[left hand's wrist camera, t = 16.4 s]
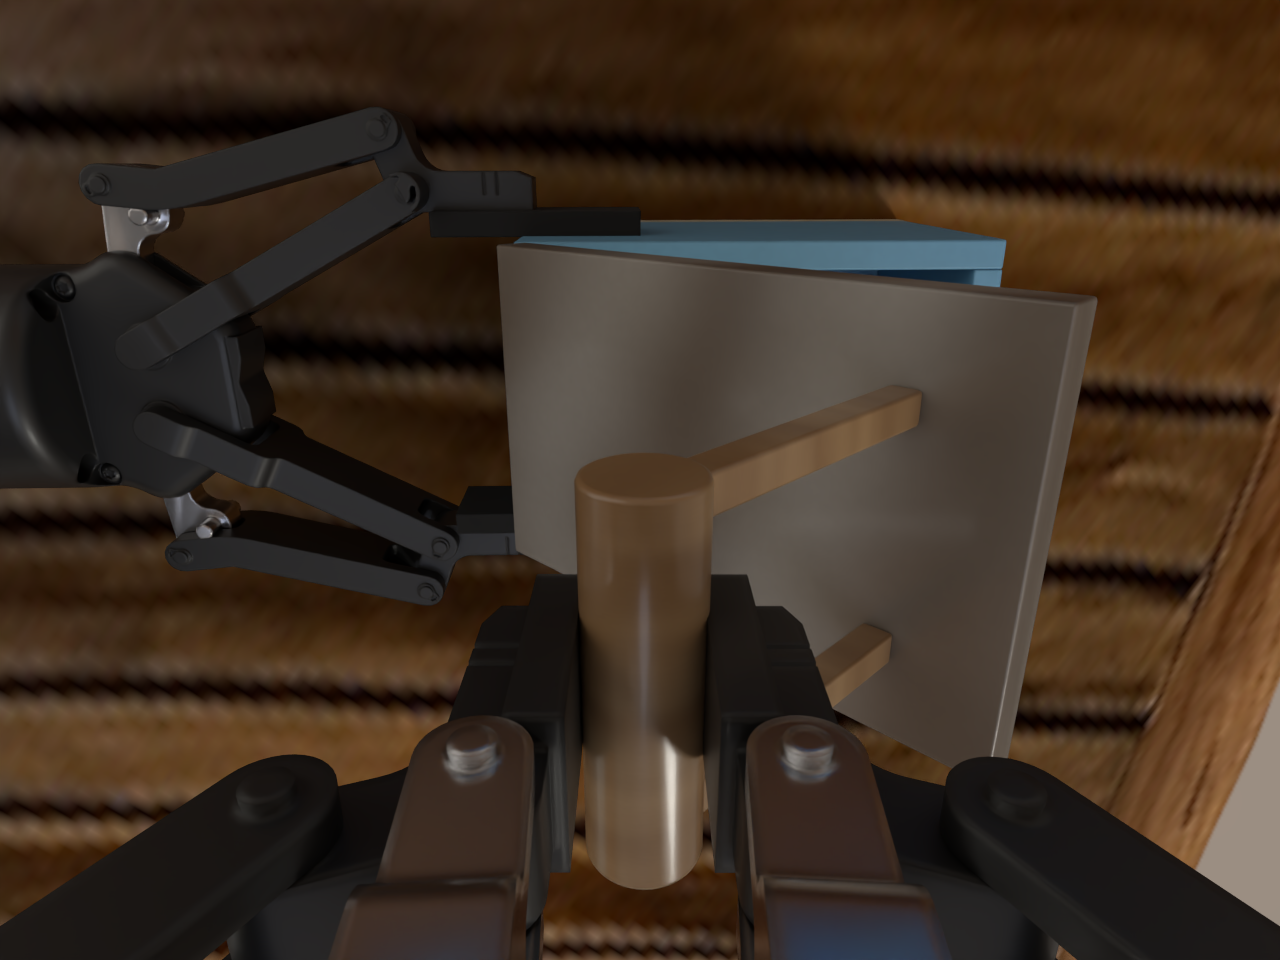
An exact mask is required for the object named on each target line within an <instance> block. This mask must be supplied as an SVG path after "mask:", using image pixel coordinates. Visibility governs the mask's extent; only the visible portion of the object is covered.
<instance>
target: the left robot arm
mask: <svg viewBox="0 0 1280 960" xmlns="http://www.w3.org/2000/svg"><path fill="white" fill-rule="evenodd" d="M582 745H583V731H582V701H581V671H580V641H579V610H578V580H577V574H537V576H536V580H535V584H534V587H533V591H532V595H531V599H530V603H529V606H501V607H500V608H499V609H498V610H497V611H496V612H494V613H493V614H492V615H491V616H490V617H489V618H488V619H487V620H486V621H484V622H483V623H482V625H481V628H480V631H479V634H478V637H477V640H476V642H475V649H473V651H472V654H471V657H470V660H469V666H467V668H466V671H465V674H464V677H463V680H462V683H461V686H460V689H459V692H458V694H457V697H456V700H455V703H454V706H453V709H452V712H451V715H450V718H449V721H448V722H447V723H445V724H443V725H441V726H439V727H437V728H435V729H434V730H432V731H431V732H430V733H428V734H427V735H426V736H425V737H424V738H423V739H422V740H421V741H420V742H419V743H418V745H417V746H416V747H415V749H414V751H413V754H412V756H411V760H410V763H409V766H408V767H406V768H404V769H402V770H399V771H397V772H394V773H391V774H388V775H385V776H381V777H377V778H373V779H369V780H364V781H360V782H356V783H351V784H347V785H342V786H338V784H337V778H336V774H335V772H334V770H333V769H332V768H331V767H330V766H329V765H328V764H327V763H326V762H324V761H322V760H320V759H318V758H315V757H311V756H306V755H295V754H294V755H281V756H275V757H270V758H266V759H262V760H259V761H256V762H254V763H251V764H248V765H246V766H244V767H242V768H240V769H238V770H236V771H234V772H233V773H231V774H229V775H228V776H226V777H225V778H223V779H222V780H220V781H219V782H217V783H216V784H214V785H213V786H211V787H209V788H208V789H206V790H205V791H203V792H202V793H200V794H199V795H197V796H196V797H194V798H193V799H191V800H190V801H188V802H187V803H185V804H184V805H182V806H181V807H179V808H178V809H176V810H175V811H173V812H172V813H170V814H169V815H167V816H166V817H164V818H163V819H161V820H160V821H158V822H157V823H155V824H154V825H152V826H151V827H149V828H148V829H146V830H145V831H143V832H142V833H140V834H139V835H137V836H136V837H134V838H133V839H131V840H130V841H128V842H127V843H125V844H124V845H122V846H121V847H119V848H118V849H116V850H115V851H113V852H112V853H110V854H108V855H107V856H105V857H104V858H102V859H101V860H99V861H98V862H96V863H95V864H93V865H92V866H90V867H89V868H87V869H86V870H84V871H83V872H81V873H80V874H78V875H77V876H75V877H74V878H72V879H71V880H69V881H68V882H66V883H65V884H63V885H62V886H60V887H59V888H57V889H56V890H54V891H53V892H51V893H50V894H48V895H47V896H45V897H44V898H42V899H41V900H39V901H38V902H36V903H35V904H33V905H32V906H30V907H29V908H27V909H26V910H24V911H23V912H21V913H20V914H18V915H17V916H15V917H14V918H12V919H11V920H9V921H8V922H6V923H4V924H3V925H1V926H0V960H203V959H204V958H205V957H207V956H208V955H209V954H210V953H211V952H213V951H214V950H215V949H216V948H217V947H219V946H220V945H221V944H222V943H223V942H224V941H226V940H227V943H228V947H229V951H230V953H229V954H228V955H227V956H226V957H225V958H224V959H222V960H542V954H543V933H544V923H543V908H544V906H545V903H546V899H547V893H548V885H549V878H550V872H570V868H571V858H572V848H573V837H574V827H575V817H576V807H577V796H578V786H579V776H580V766H581V756H582ZM703 762H704V771H705V781H706V790H707V800H708V809H709V819H710V828H711V838H712V847H713V857H714V866H715V873H735V874H736V881H737V889H738V907H737V925H736V931H737V952H738V960H1058V959H1056V954H1057V950H1058V946H1059V945H1060V946H1062V947H1063V948H1064V949H1065V950H1066V951H1067V952H1069V953H1070V954H1071V955H1072V956H1073V957H1075V958H1076V959H1077V960H1280V926H1279V925H1277V924H1275V923H1274V922H1272V921H1271V920H1269V919H1268V918H1266V917H1265V916H1263V915H1262V914H1260V913H1259V912H1257V911H1256V910H1254V909H1253V908H1251V907H1250V906H1248V905H1247V904H1245V903H1244V902H1242V901H1241V900H1239V899H1238V898H1236V897H1235V896H1233V895H1232V894H1230V893H1229V892H1227V891H1226V890H1224V889H1223V888H1221V887H1220V886H1218V885H1217V884H1215V883H1214V882H1212V881H1211V880H1209V879H1208V878H1206V877H1205V876H1203V875H1202V874H1200V873H1199V872H1197V871H1196V870H1194V869H1193V868H1191V867H1190V866H1188V865H1187V864H1185V863H1184V862H1182V861H1181V860H1179V859H1178V858H1176V857H1175V856H1173V855H1172V854H1170V853H1169V852H1167V851H1165V850H1164V849H1162V848H1161V847H1159V846H1158V845H1156V844H1155V843H1153V842H1152V841H1150V840H1149V839H1147V838H1146V837H1144V836H1143V835H1141V834H1140V833H1138V832H1137V831H1135V830H1134V829H1132V828H1131V827H1129V826H1128V825H1126V824H1125V823H1123V822H1122V821H1120V820H1119V819H1117V818H1116V817H1114V816H1113V815H1111V814H1110V813H1108V812H1107V811H1105V810H1104V809H1102V808H1101V807H1099V806H1098V805H1096V804H1095V803H1093V802H1092V801H1090V800H1089V799H1087V798H1086V797H1084V796H1083V795H1081V794H1080V793H1078V792H1077V791H1075V790H1074V789H1072V788H1071V787H1069V786H1068V785H1066V784H1064V783H1063V782H1061V781H1060V780H1058V779H1057V778H1055V777H1054V776H1052V775H1050V774H1049V773H1047V772H1045V771H1043V770H1041V769H1039V768H1037V767H1035V766H1032V765H1029V764H1027V763H1024V762H1021V761H1017V760H1013V759H1008V758H1002V757H990V756H987V757H976V758H971V759H968V760H965V761H962V762H960V763H959V764H957V765H956V766H954V767H953V768H952V770H951V771H950V772H949V774H948V776H947V779H946V785H945V786H942V785H938V784H934V783H929V782H925V781H921V780H916V779H912V778H908V777H904V776H900V775H897V774H894V773H891V772H889V771H886V770H883V769H881V768H879V767H877V766H875V765H873V764H872V763H870V759H869V756H868V754H867V751H866V749H865V747H864V746H863V744H862V743H861V742H860V741H859V740H858V739H857V737H856V736H854V735H853V734H852V733H851V732H849V731H848V730H846V729H845V728H843V727H841V726H839V725H838V722H837V720H836V717H835V714H834V711H833V708H832V705H831V703H830V700H829V697H828V694H827V691H826V689H825V686H824V683H823V680H822V677H821V675H820V672H819V669H818V666H816V660H815V658H814V655H813V652H812V649H810V644H809V641H808V638H807V635H806V632H805V629H804V627H803V624H802V623H801V622H800V621H799V620H798V619H796V618H795V617H794V616H793V615H792V614H791V613H790V612H789V611H787V610H786V609H785V608H784V607H783V606H756V605H755V601H754V598H753V594H752V590H751V586H750V582H749V578H748V576H747V574H711V597H710V613H709V616H708V618H707V642H706V672H705V702H704V732H703Z"/></svg>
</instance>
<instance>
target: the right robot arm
mask: <svg viewBox="0 0 1280 960" xmlns="http://www.w3.org/2000/svg"><path fill="white" fill-rule="evenodd" d="M371 160H375V162H376V164H377V166H378V168H379V171H380V173H381V175H382V177H383V180H384V181H382V182H380V183H379V184H377V185H375V186H374V187H372V188H370V189H369V190H367V191H365V192H364V193H362V194H361V195H359V196H357V197H356V198H354V199H352V200H351V201H349V202H347V203H346V204H344V205H342V206H341V207H339V208H337V209H336V210H334V211H332V212H331V213H329V214H327V215H326V216H324V217H322V218H321V219H319V220H317V221H316V222H314V223H312V224H311V225H309V226H307V227H306V228H304V229H302V230H301V231H299V232H297V233H296V234H294V235H292V236H291V237H289V238H288V239H286V240H284V241H283V242H281V243H279V244H278V245H276V246H274V247H273V248H271V249H269V250H268V251H266V252H264V253H263V254H261V255H259V256H258V257H256V258H254V259H253V260H251V261H249V262H248V263H246V264H244V265H243V266H241V267H239V268H238V269H236V270H234V271H233V272H231V273H229V274H227V275H225V276H222V277H220V278H218V279H216V280H214V281H213V282H211V283H209V284H205V283H204V282H202V281H201V280H199V279H197V278H196V277H194V276H193V275H191V274H190V273H188V272H186V271H185V270H183V269H182V268H180V267H179V266H177V265H175V264H174V263H172V262H171V261H169V260H168V259H166V258H164V257H163V256H161V255H160V254H158V253H156V252H154V243H155V241H156V239H157V238H158V237H159V236H160V235H161V234H163V233H167V232H172V231H175V230H177V229H179V227H180V226H181V225H182V222H183V218H184V214H185V212H184V209H183V208H188V207H198V206H208V205H213V204H218V203H223V202H226V201H230V200H233V199H237V198H240V197H244V196H247V195H251V194H254V193H258V192H262V191H265V190H269V189H272V188H276V187H279V186H283V185H286V184H290V183H293V182H297V181H301V180H304V179H308V178H311V177H315V176H318V175H322V174H325V173H329V172H332V171H336V170H339V169H343V168H347V167H350V166H354V165H357V164H361V163H364V162H368V161H371ZM79 185H80V188H81V191H82V192H83V194H84V195H85V196H86V198H87V199H89V200H90V201H92V202H93V203H95V204H98V205H102V213H103V220H104V228H105V235H106V243H107V251H108V252H106V253H103V254H101V255H99V256H98V257H97V258H95V259H94V260H92V261H91V262H89V263H86V264H3V265H0V488H76V487H102V486H115V485H125V486H130V487H134V488H138V489H140V490H143V491H145V492H147V493H149V494H152V495H154V496H157V497H162V498H164V501H165V504H166V507H167V510H168V513H169V516H170V519H171V522H172V525H173V528H174V531H175V534H176V539H175V540H174V541H173V542H172V543H170V544H169V545H168V546H167V548H166V550H165V557H166V559H167V561H168V563H169V564H170V565H171V566H172V567H173V568H175V569H178V570H180V571H194V570H204V569H213V568H223V567H233V566H234V567H239V568H243V569H248V570H253V571H258V572H263V573H268V574H273V575H278V576H283V577H288V578H293V579H298V580H303V581H307V582H312V583H317V584H322V585H327V586H332V587H337V588H342V589H347V590H352V591H357V592H362V593H366V594H371V595H376V596H381V597H386V598H391V599H396V600H401V601H406V602H411V603H416V604H421V605H434V604H437V603H438V602H439V601H440V600H441V599H442V596H443V594H444V592H445V589H446V587H447V585H448V582H449V580H450V577H451V575H452V572H453V569H454V567H455V563H456V561H457V560H459V559H460V558H462V557H465V556H470V555H507V554H509V555H518V554H520V555H524V554H522V553H520V552H518V551H517V550H516V546H515V530H514V514H513V498H512V486H469V487H468V489H467V491H466V493H465V496H464V498H463V500H462V502H461V504H460V506H457V505H455V504H453V503H450V502H448V501H446V500H444V499H442V498H439V497H437V496H435V495H433V494H431V493H428V492H426V491H424V490H422V489H420V488H418V487H415V486H413V485H411V484H409V483H407V482H404V481H402V480H400V479H398V478H396V477H393V476H391V475H389V474H387V473H385V472H383V471H380V470H378V469H376V468H374V467H372V466H369V465H367V464H365V463H363V462H361V461H358V460H356V459H354V458H352V457H350V456H348V455H345V454H343V453H341V452H339V451H337V450H334V449H332V448H330V447H328V446H326V445H323V444H321V443H319V442H317V441H315V440H313V439H310V438H308V437H307V436H305V435H304V433H303V430H301V429H300V428H299V427H297V426H296V425H294V424H291V423H289V422H287V421H285V420H283V419H280V418H278V417H276V416H274V415H272V414H273V413H275V412H276V408H275V402H274V396H273V391H272V388H271V386H270V384H269V382H268V379H267V377H266V375H265V373H264V370H263V365H264V356H265V342H264V336H263V330H262V326H255V324H254V322H253V321H252V319H251V317H250V316H251V315H253V314H255V313H256V312H258V311H260V310H262V309H263V308H265V307H267V306H268V305H270V304H272V303H273V302H275V301H277V300H278V299H280V298H281V297H282V296H284V295H285V294H287V293H288V292H290V291H292V290H294V289H295V288H297V287H299V286H300V285H302V284H304V283H305V282H307V281H309V280H310V279H312V278H314V277H316V276H317V275H319V274H321V273H322V272H324V271H326V270H327V269H329V268H331V267H332V266H334V265H336V264H338V263H339V262H341V261H343V260H344V259H346V258H348V257H349V256H351V255H353V254H354V253H356V252H358V251H360V250H361V249H363V248H365V247H366V246H368V245H370V244H371V243H373V242H375V241H376V240H378V239H380V238H382V237H383V236H385V235H387V234H388V233H390V232H392V231H393V230H395V229H397V228H398V227H400V226H402V225H404V224H405V223H407V222H409V221H410V220H412V219H414V218H415V217H417V216H419V215H420V214H422V213H424V212H429V221H430V232H431V237H523V236H641V211H640V209H639V208H638V207H537V198H536V177H533V176H531V175H529V174H526V173H524V172H521V171H444V170H440V169H438V168H436V167H434V166H433V165H431V164H430V162H429V161H428V160H427V159H426V157H425V155H424V154H423V151H422V149H421V147H420V144H419V142H418V140H417V137H416V129H415V126H414V124H413V122H412V120H411V119H410V118H409V117H408V116H406V115H405V114H402V113H400V112H396V111H393V110H389V109H385V108H381V107H370V108H366V109H363V110H359V111H356V112H352V113H349V114H345V115H342V116H338V117H335V118H331V119H328V120H324V121H321V122H317V123H314V124H310V125H307V126H303V127H300V128H296V129H293V130H289V131H286V132H282V133H279V134H275V135H272V136H268V137H265V138H261V139H258V140H254V141H251V142H247V143H244V144H240V145H237V146H234V147H230V148H227V149H223V150H220V151H216V152H213V153H209V154H206V155H202V156H199V157H195V158H192V159H188V160H185V161H181V162H178V163H174V164H171V165H167V166H157V165H147V164H99V163H96V164H89V165H87V166H85V167H84V168H83V169H82V171H81V172H80V174H79ZM216 472H218V473H220V474H222V475H225V476H227V477H229V478H232V479H234V480H236V481H238V482H241V483H243V484H245V485H248V486H251V487H257V488H260V487H269V488H272V489H275V490H277V491H279V492H282V493H284V494H286V495H288V496H291V497H293V498H295V499H297V500H300V501H302V502H304V503H306V504H309V505H311V506H313V507H316V508H318V509H320V510H322V511H325V512H327V513H329V514H331V515H334V516H336V517H338V518H340V519H343V520H345V521H347V522H350V523H352V524H354V525H356V526H359V527H361V528H363V529H365V530H368V531H370V532H372V533H369V532H364V531H359V530H354V529H350V528H345V527H340V526H335V525H331V524H326V523H321V522H317V521H312V520H307V519H302V518H298V517H293V516H288V515H284V514H279V513H273V512H267V511H255V510H248V511H240V510H241V506H240V504H239V503H238V502H237V501H235V500H222V499H216V498H214V497H212V496H210V495H209V494H208V493H207V492H206V491H205V490H204V488H203V486H202V483H203V482H204V481H205V480H207V479H208V478H209V477H211V476H212V475H213V474H214V473H216ZM373 533H375V534H373Z"/></svg>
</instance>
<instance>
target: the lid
mask: <svg viewBox="0 0 1280 960" xmlns="http://www.w3.org/2000/svg"><path fill="white" fill-rule="evenodd" d="M497 258H498V274H499V290H500V306H501V322H502V338H503V354H504V370H505V386H506V402H507V418H508V434H509V450H510V466H511V482H512V498H513V514H514V530H515V546H516V550H517V551H518V552H520V553H522V554H524V555H526V556H528V557H530V558H532V559H534V560H536V561H538V562H540V563H542V564H544V565H546V566H548V567H550V568H552V569H554V570H556V571H558V572H560V573H562V574H577V580H578V610H579V641H580V671H581V701H582V731H583V762H584V792H585V822H586V847H587V852H588V855H589V858H590V860H591V861H592V863H593V865H594V866H595V867H596V869H597V870H598V871H599V872H600V873H601V874H602V875H603V876H604V877H606V878H607V879H608V880H610V881H612V882H614V883H616V884H618V885H621V886H624V887H627V888H632V889H641V890H648V889H657V888H662V887H665V886H668V885H671V884H673V883H675V882H677V881H679V880H680V879H682V878H683V877H684V876H686V875H687V874H688V873H689V872H690V871H691V870H692V868H693V867H694V866H695V864H696V863H697V861H698V859H699V857H700V854H701V851H702V841H703V812H705V811H706V810H707V809H708V800H707V790H706V781H705V771H704V762H703V732H704V702H705V672H706V642H707V618H708V616H709V613H710V597H711V574H747V576H748V578H749V582H750V586H751V590H752V594H753V598H754V601H755V605H756V606H783V607H784V608H785V609H786V610H787V611H789V612H790V613H791V614H792V615H793V616H794V617H795V618H796V619H798V620H799V621H800V622H801V623H802V624H803V627H804V629H805V632H806V635H807V638H808V641H809V644H810V649H812V652H813V655H814V658H815V660H816V666H818V669H819V672H820V675H821V677H822V680H823V683H824V686H825V689H826V691H827V694H828V697H829V700H830V703H831V705H832V708H833V709H834V710H836V711H838V712H840V713H842V714H844V715H846V716H848V717H850V718H852V719H854V720H856V721H858V722H860V723H862V724H864V725H866V726H868V727H870V728H872V729H874V730H876V731H878V732H880V733H882V734H884V735H886V736H888V737H890V738H892V739H894V740H896V741H898V742H900V743H902V744H904V745H906V746H908V747H910V748H912V749H914V750H916V751H918V752H920V753H922V754H924V755H926V756H928V757H930V758H932V759H934V760H937V761H939V762H941V763H943V764H945V765H947V766H949V767H951V768H953V767H954V766H956V765H957V764H959V763H960V762H962V761H965V760H968V759H971V758H976V757H987V756H990V757H1002V758H1008V754H1009V749H1010V744H1011V738H1012V733H1013V728H1014V723H1015V718H1016V713H1017V708H1018V703H1019V698H1020V693H1021V688H1022V682H1023V677H1024V672H1025V667H1026V662H1027V657H1028V652H1029V647H1030V642H1031V637H1032V632H1033V626H1034V621H1035V616H1036V611H1037V606H1038V601H1039V596H1040V591H1041V586H1042V581H1043V575H1044V570H1045V565H1046V560H1047V555H1048V550H1049V545H1050V540H1051V535H1052V530H1053V525H1054V519H1055V514H1056V509H1057V504H1058V499H1059V494H1060V489H1061V484H1062V479H1063V474H1064V469H1065V463H1066V458H1067V453H1068V448H1069V443H1070V438H1071V433H1072V428H1073V423H1074V418H1075V412H1076V407H1077V402H1078V397H1079V392H1080V387H1081V382H1082V377H1083V372H1084V367H1085V362H1086V356H1087V351H1088V346H1089V341H1090V336H1091V331H1092V326H1093V321H1094V316H1095V311H1096V306H1097V298H1096V297H1094V296H1087V295H1077V294H1066V293H1055V292H1045V291H1034V290H1023V289H1013V288H1002V287H992V286H981V285H970V284H960V283H949V282H938V281H928V280H917V279H906V278H896V277H885V276H875V275H864V274H853V273H843V272H832V271H821V270H811V269H800V268H789V267H779V266H768V265H758V264H747V263H736V262H726V261H715V260H704V259H694V258H683V257H673V256H662V255H651V254H641V253H630V252H619V251H609V250H598V249H587V248H577V247H566V246H556V245H545V244H534V243H513V244H500V245H498V246H497Z"/></svg>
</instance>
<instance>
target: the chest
mask: <svg viewBox="0 0 1280 960" xmlns="http://www.w3.org/2000/svg"><path fill="white" fill-rule="evenodd" d="M514 243H534V244H545V245H556V246H566V247H577V248H587V249H598V250H609V251H619V252H630V253H641V254H651V255H662V256H673V257H683V258H694V259H704V260H715V261H726V262H736V263H747V264H758V265H768V266H779V267H789V268H800V269H811V270H821V271H832V272H843V273H853V274H864V275H875V276H885V277H896V278H906V279H917V280H928V281H938V282H949V283H960V284H970V285H981V286H992V287H1000V281H1001V275H1002V270H1001V268H1002V266H1003V260H1004V253H1005V247H1006V240H1004V239H999V238H993V237H988V236H982V235H977V234H971V233H966V232H961V231H955V230H950V229H944V228H939V227H933V226H928V225H922V224H917V223H912V222H906V221H904V220H898V219H833V220H641V236H523V237H521V238H520V239H518V240H517V241H515V242H514Z"/></svg>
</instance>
